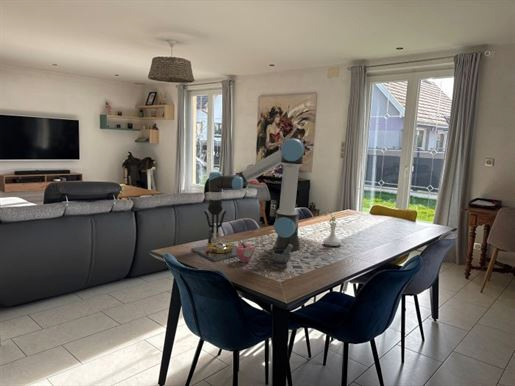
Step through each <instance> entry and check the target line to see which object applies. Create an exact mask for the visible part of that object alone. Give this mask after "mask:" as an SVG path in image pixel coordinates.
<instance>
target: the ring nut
mask: <svg viewBox="0 0 515 386" xmlns="http://www.w3.org/2000/svg"><path fill="white" fill-rule="evenodd" d="M212 235H213V233H212V229H208V230H207V238H208V239H207V245H208V246H209V251H211V252H214V253H216V252H217V253H225V252H226V253H227V252H230V251H232V244H233V243H230V244H228V243H229V242H228V243H225V244H226V248H222V246H219V248H216V247H215V244H216V243H217V242H215V243H214V242H213V241H212V240H213V239H212V238H213V237H212ZM218 243H223V241H222V240H219V242H218Z"/></svg>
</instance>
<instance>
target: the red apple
mask: <svg viewBox="0 0 515 386" xmlns="http://www.w3.org/2000/svg"><path fill="white" fill-rule="evenodd" d="M236 253H237V258H238V259H239V261H240V262H241V263H248V262H249V261H250V260H251V258H252V257H253V255H254V253H255V248H254V246H253V245H251V244H244V243H243V242H241V243H240V245H239V246H238V247H237V249H236Z"/></svg>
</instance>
